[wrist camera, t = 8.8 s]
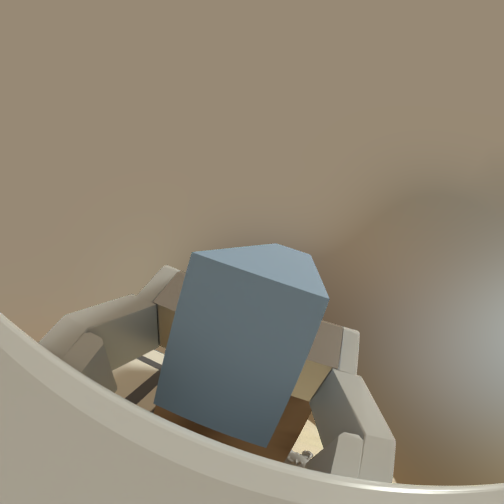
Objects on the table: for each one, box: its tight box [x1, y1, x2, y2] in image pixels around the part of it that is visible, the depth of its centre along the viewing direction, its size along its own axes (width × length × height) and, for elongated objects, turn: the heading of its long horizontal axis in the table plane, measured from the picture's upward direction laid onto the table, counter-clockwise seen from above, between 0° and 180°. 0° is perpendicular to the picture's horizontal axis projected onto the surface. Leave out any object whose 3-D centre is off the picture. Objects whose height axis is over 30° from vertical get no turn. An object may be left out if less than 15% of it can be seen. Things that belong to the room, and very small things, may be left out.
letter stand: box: [112, 349, 165, 413], centre depth 27 cm, size 8×18×15 cm, turn 170°
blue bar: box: [153, 244, 329, 448], centre depth 16 cm, size 3×20×4 cm, turn 170°
